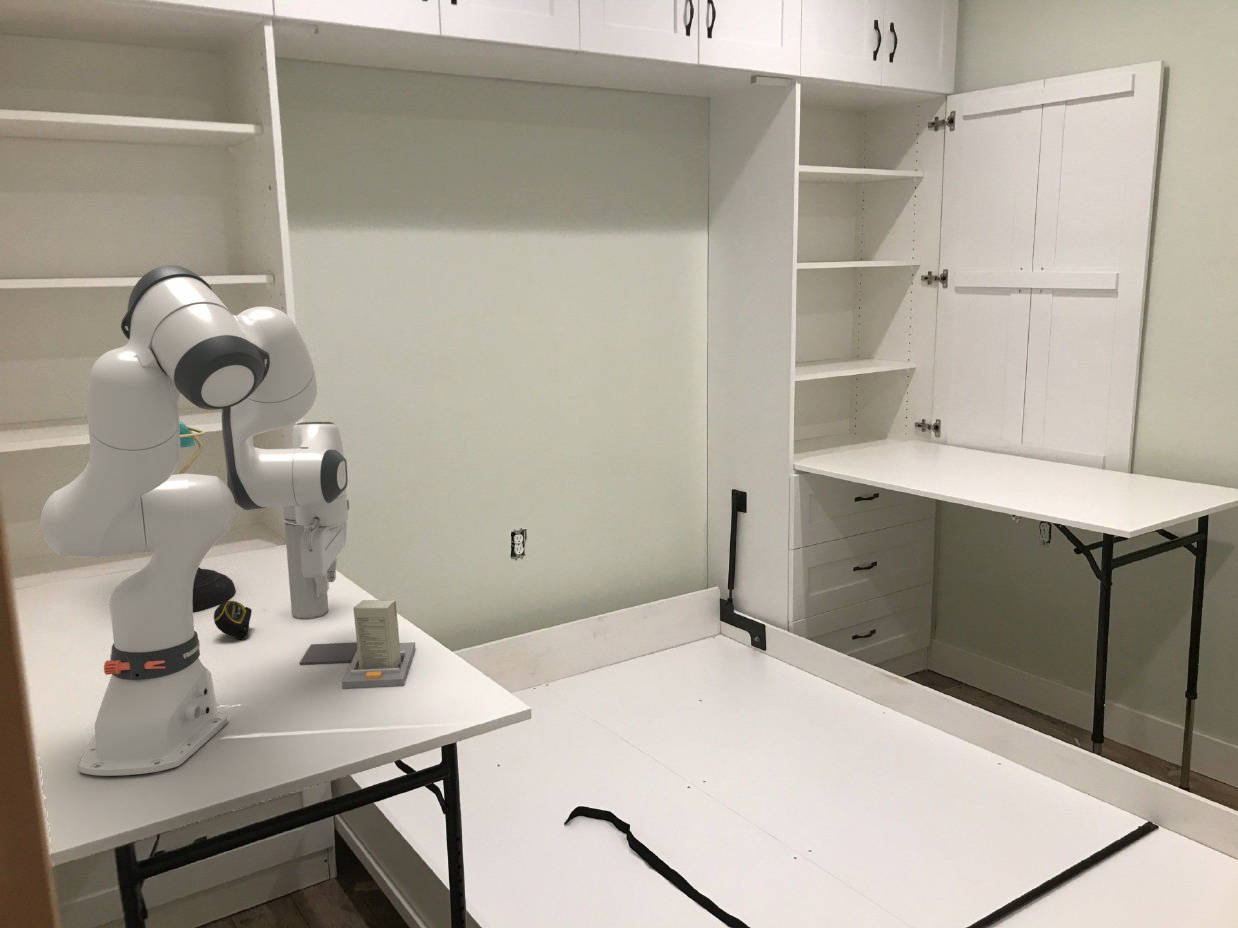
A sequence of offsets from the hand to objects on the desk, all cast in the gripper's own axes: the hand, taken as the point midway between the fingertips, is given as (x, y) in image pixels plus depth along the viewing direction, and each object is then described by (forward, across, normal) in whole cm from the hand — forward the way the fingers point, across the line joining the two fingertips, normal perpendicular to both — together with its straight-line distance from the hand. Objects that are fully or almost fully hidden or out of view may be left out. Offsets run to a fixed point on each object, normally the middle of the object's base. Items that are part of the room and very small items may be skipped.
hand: (326, 586), depth 175 cm
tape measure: (+13, +12, +20) cm, 27 cm away
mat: (+13, 0, 0) cm, 13 cm away
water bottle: (+13, +22, +8) cm, 27 cm away
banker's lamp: (+14, +35, +39) cm, 55 cm away
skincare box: (+13, -9, -10) cm, 19 cm away
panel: (+13, -8, -10) cm, 18 cm away
